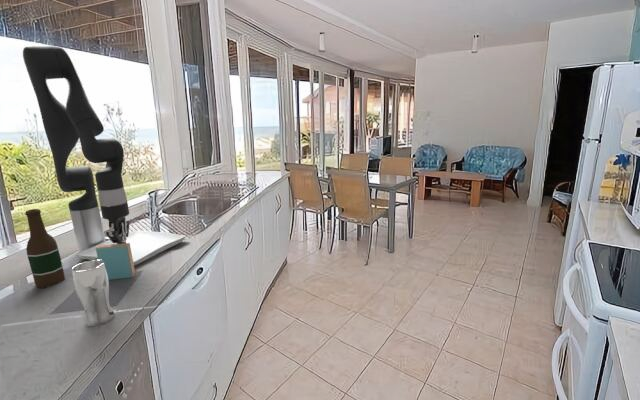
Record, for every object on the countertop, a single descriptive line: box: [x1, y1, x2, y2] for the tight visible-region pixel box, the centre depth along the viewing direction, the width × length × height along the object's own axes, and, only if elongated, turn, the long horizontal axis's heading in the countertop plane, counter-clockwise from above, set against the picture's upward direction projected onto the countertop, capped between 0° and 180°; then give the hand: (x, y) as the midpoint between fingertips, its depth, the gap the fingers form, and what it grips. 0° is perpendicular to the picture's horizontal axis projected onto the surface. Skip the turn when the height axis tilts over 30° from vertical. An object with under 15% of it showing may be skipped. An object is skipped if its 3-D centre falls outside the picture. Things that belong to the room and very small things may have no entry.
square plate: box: [75, 229, 187, 267], centre depth 127 cm, size 27×27×4 cm
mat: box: [49, 269, 144, 315], centre depth 98 cm, size 22×16×1 cm
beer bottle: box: [25, 208, 66, 289], centre depth 101 cm, size 8×8×24 cm
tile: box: [96, 243, 136, 280], centre depth 103 cm, size 2×9×11 cm, turn 101°
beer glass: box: [71, 260, 115, 327], centre depth 82 cm, size 7×7×15 cm
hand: (123, 252), depth 109 cm, fingers closed
